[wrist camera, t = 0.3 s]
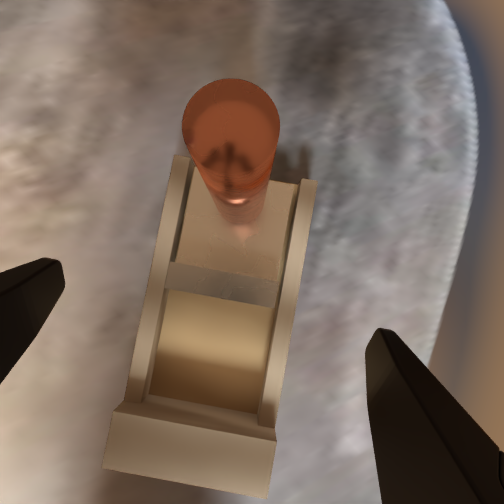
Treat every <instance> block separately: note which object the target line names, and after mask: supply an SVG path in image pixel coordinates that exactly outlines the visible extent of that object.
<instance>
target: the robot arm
mask: <svg viewBox="0 0 504 504" xmlns="http://www.w3.org/2000/svg"><path fill="white" fill-rule="evenodd" d="M64 288H65V279H64V274H63V269H62V264H61V262H60V261H59V260H56V259H51V258H40V259H38V260H35V261H32V262H29V263H26V264H23V265H21V266H18V267H15V268H12V269H9V270H6V271H4V272H1V273H0V384H1V383H2V381H3V380H4V379H5V377H6V376H7V375H8V373H9V372H10V371H11V369H12V368H13V367H14V365H15V364H16V363H17V361H18V360H19V359H20V357H21V356H22V355H23V353H24V352H25V351H26V349H27V348H28V347H29V345H30V344H31V343H32V341H33V340H34V338H35V337H36V336H37V334H38V332H39V331H40V329H41V328H42V326H43V324H44V323H45V321H46V319H47V318H48V316H49V314H50V313H51V311H52V309H53V308H54V306H55V304H56V302H57V301H58V299H59V297H60V296H61V294H62V292H63V290H64ZM365 363H366V388H367V407H368V415H369V421H370V428H371V434H372V441H373V447H374V454H375V460H376V467H377V474H378V480H379V487H380V493H381V500H382V504H504V452H502V451H499V447H498V446H497V445H496V444H495V443H494V441H492V439H491V438H490V437H489V436H488V435H487V434H486V433H485V432H484V430H483V429H482V428H481V427H480V426H479V425H478V424H477V423H476V422H475V421H474V419H473V418H472V417H471V416H470V415H469V414H468V413H467V412H466V410H465V409H464V408H463V407H462V406H461V405H460V404H459V403H458V402H457V400H456V399H454V397H453V396H452V395H451V394H450V393H449V392H448V391H447V389H446V388H445V387H444V386H443V385H442V384H441V383H440V382H439V381H438V380H437V378H436V377H435V376H434V375H433V374H432V373H431V372H430V371H429V369H428V368H427V367H426V366H425V365H424V364H423V363H422V362H421V361H420V359H419V358H418V357H417V356H416V355H415V354H414V353H413V352H412V351H411V349H410V348H409V347H408V346H407V345H406V344H405V343H404V342H403V341H402V340H401V338H400V337H399V336H398V335H397V334H396V333H395V332H394V331H392V330H389V329H384V328H378V329H377V330H376V331H375V332H374V334H373V336H372V338H371V340H370V341H369V343H368V345H367V347H366V351H365Z"/></svg>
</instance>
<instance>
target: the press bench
mask: <svg viewBox="0 0 504 504" xmlns="http://www.w3.org/2000/svg"><path fill="white" fill-rule="evenodd" d="M195 167H197V166H194V164H193V162H192V160H191V158H190V157H184V156H179V155H174V159H173V163H172V168H171V173H170V178H169V183H168V188H167V193H166V197H165V202H164V207H163V212H162V217H161V222H160V227H159V232H158V236H157V241H156V246H155V251H154V256H153V261H152V266H151V270H150V275H149V280H148V285H147V290H146V295H145V300H144V305H143V309H142V314H141V319H140V324H139V329H138V334H137V339H136V343H135V348H134V353H133V358H132V363H131V368H130V373H129V378H128V382H127V387H126V392H125V397H124V401H123V402H122V403H121V404H120V405H119V406H118V407H117V408H116V409H115V410H114V411H113V414H112V419H111V424H110V429H109V434H108V439H107V443H106V448H105V453H104V458H103V463H102V468H104V469H109V470H114V471H120V472H125V473H130V474H136V475H141V476H146V477H152V478H157V479H162V480H168V481H173V482H178V483H184V484H189V485H194V486H200V487H205V488H210V489H216V490H221V491H226V492H232V493H237V494H242V495H248V496H253V497H258V498H264V499H267V495H268V490H269V484H270V478H271V472H272V467H273V461H274V455H275V449H276V444H277V440H276V434H275V424H276V418H277V412H278V406H279V401H280V395H281V389H282V383H283V378H284V372H285V366H286V361H287V355H288V349H289V343H290V338H291V332H292V326H293V320H294V315H295V309H296V303H297V298H298V292H299V286H300V280H301V275H302V269H303V263H304V257H305V252H306V246H307V240H308V235H309V229H310V223H311V217H312V212H313V206H314V200H315V194H316V189H317V183H318V181H314V180H309V179H303V178H302V179H301V181H300V182H299V184H298V185H297V184H292V185H294V188H293V194H292V199H291V205H290V210H289V216H288V221H287V227H286V233H285V238H284V244H283V249H282V255H281V260H280V266H279V272H278V277H277V281H278V282H279V285H278V291H277V296H276V302H275V307H274V308H269V307H263V306H258V305H253V304H247V303H242V302H237V301H231V300H226V299H220V298H215V297H210V296H204V295H199V294H193V293H188V292H183V291H177V290H172V289H167V288H165V283H166V278H167V273H168V268H169V263H170V262H176V259H177V254H178V249H179V244H180V239H181V234H182V229H183V224H184V219H185V214H186V209H187V204H188V199H189V194H190V189H191V184H192V179H193V174H194V169H195ZM270 181H275V180H270ZM276 182H280V181H276ZM281 183H286V182H281ZM287 184H291V183H287Z"/></svg>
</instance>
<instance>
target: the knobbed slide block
mask: <svg viewBox="0 0 504 504" xmlns="http://www.w3.org/2000/svg"><path fill="white" fill-rule="evenodd" d="M182 132H183V137H184V141H185V144H186V146H187V148H188V150H189V152H190V154H191V156H192V158H193V160H194V162H195V164H196V166H197V167H195V169H194V174H193V179H192V184H191V189H190V194H189V199H188V204H187V209H186V214H185V219H184V224H183V229H182V234H181V239H180V244H179V249H178V254H177V259H176V262H170V263H169V268H168V273H167V278H166V283H165V288H167V289H172V290H177V291H183V292H188V293H193V294H199V295H204V296H210V297H215V298H220V299H226V300H231V301H237V302H242V303H247V304H253V305H258V306H263V307H269V308H274V307H275V302H276V296H277V291H278V285H279V282H278V281H277V277H278V272H279V266H280V260H281V255H282V249H283V244H284V238H285V233H286V227H287V221H288V216H289V210H290V205H291V199H292V194H293V188H294V185H292V184H287V183H281V182H276V181H270V180H269V179H270V175H271V170H272V165H273V161H274V156H275V152H276V147H277V142H278V138H279V132H280V120H279V115H278V111H277V109H276V106H275V104H274V103H273V101H272V99H271V98H270V97H269V96H268V94H267V93H266V92H264V91H263V90H262V89H261V88H259V87H258V86H256V85H255V84H253V83H250V82H248V81H245V80H241V79H221V80H217V81H214V82H212V83H209V84H207V85H206V86H204V87H202V88H201V89H200V90H199V91H197V92H196V93H195V94H194V96H193V97H192V98H191V99H190V101H189V103H188V104H187V106H186V109H185V111H184V115H183V120H182Z"/></svg>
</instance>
